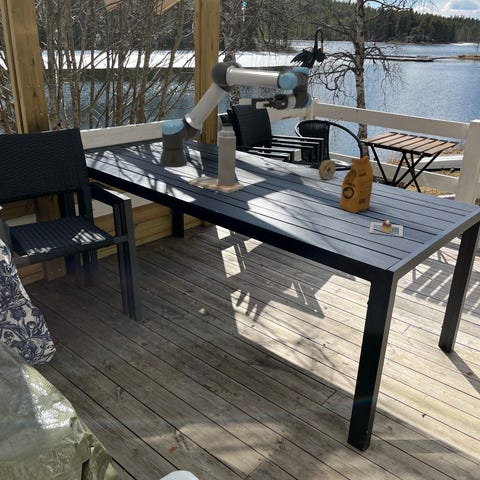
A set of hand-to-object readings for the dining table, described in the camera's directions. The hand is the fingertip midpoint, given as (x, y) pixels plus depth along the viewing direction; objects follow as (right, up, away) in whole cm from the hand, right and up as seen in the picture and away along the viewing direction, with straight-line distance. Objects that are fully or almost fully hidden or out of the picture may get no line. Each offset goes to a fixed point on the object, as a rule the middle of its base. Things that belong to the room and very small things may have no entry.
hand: (247, 103), depth 227 cm
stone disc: (+41, -31, +27) cm, 58 cm away
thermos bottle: (-10, -36, +6) cm, 38 cm away
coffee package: (+45, -49, -17) cm, 69 cm away
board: (-15, -37, +10) cm, 41 cm away
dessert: (+51, -60, -40) cm, 88 cm away
